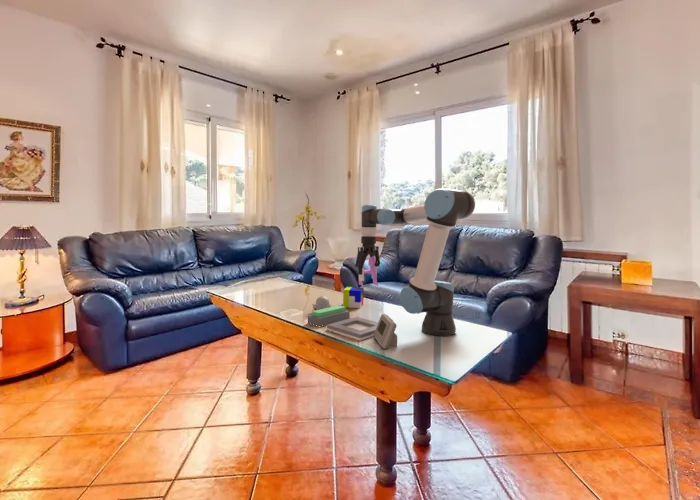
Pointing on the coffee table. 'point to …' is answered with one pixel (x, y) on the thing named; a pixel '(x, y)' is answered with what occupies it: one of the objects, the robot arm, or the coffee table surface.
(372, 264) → the toy chair
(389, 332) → the digital clock
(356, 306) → the puzzle toy
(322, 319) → the button housing
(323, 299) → the chubby cartoon animal
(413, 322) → the coffee table surface
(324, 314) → the bar
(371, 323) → the grey flat square frame
